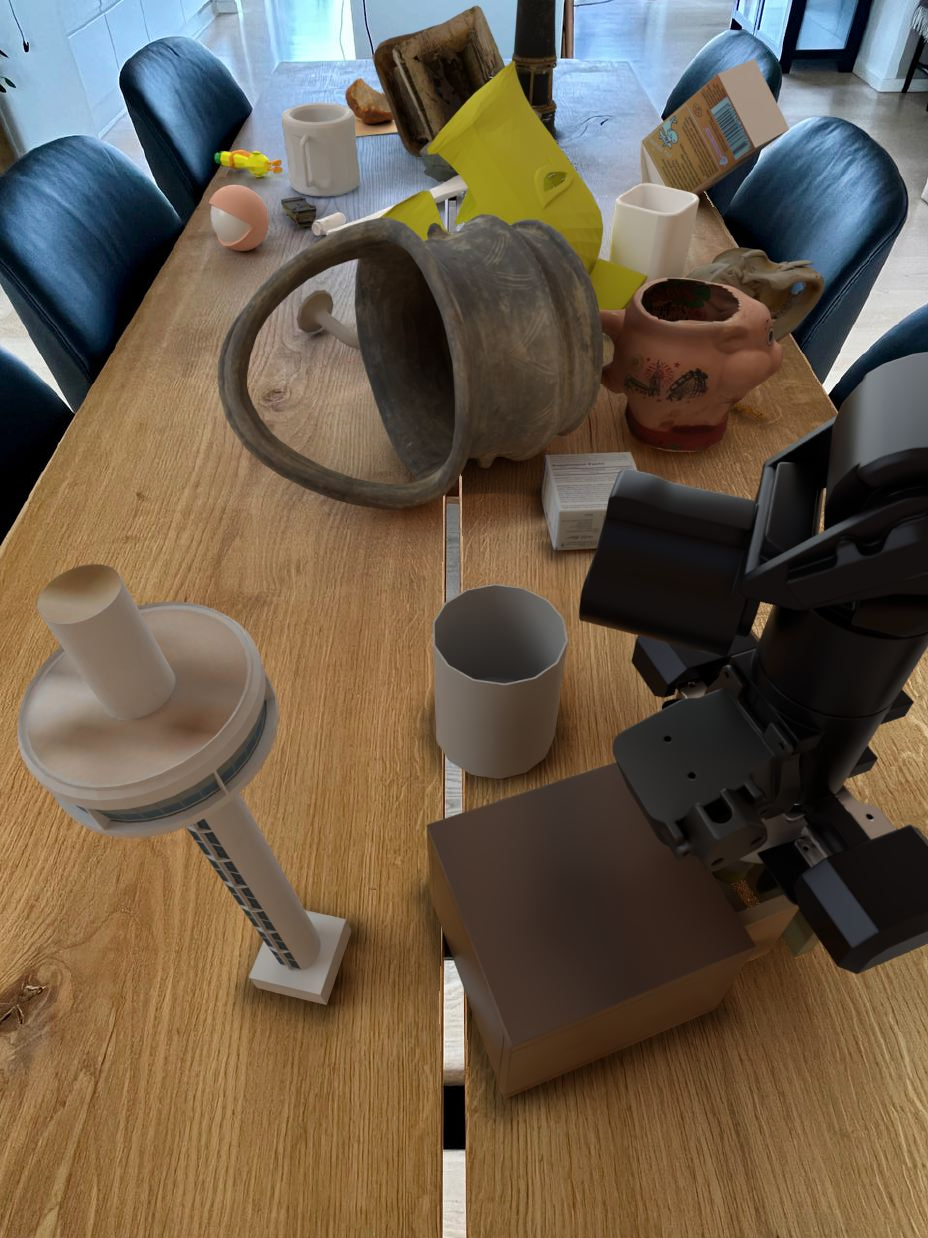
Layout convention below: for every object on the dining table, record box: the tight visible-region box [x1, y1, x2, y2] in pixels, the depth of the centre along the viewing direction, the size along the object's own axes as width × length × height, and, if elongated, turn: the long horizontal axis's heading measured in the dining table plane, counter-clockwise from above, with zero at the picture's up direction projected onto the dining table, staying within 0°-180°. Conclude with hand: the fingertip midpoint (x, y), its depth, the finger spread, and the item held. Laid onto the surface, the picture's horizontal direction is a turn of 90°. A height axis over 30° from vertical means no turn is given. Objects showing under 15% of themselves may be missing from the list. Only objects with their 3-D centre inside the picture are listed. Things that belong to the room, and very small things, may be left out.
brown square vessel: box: [371, 5, 506, 158], centre depth 138 cm, size 22×24×20 cm
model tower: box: [17, 563, 352, 1006], centre depth 36 cm, size 8×8×30 cm
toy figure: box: [214, 149, 283, 179], centre depth 132 cm, size 7×4×12 cm
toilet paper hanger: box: [296, 289, 360, 350], centre depth 99 cm, size 25×8×5 cm, turn 136°
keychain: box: [732, 403, 766, 420], centre depth 86 cm, size 8×1×1 cm, turn 43°
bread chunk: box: [344, 77, 398, 137], centre depth 149 cm, size 15×11×11 cm
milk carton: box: [639, 58, 790, 196], centre depth 122 cm, size 11×11×19 cm
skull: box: [685, 247, 825, 343], centre depth 91 cm, size 12×18×12 cm
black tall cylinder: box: [511, 0, 558, 139], centre depth 136 cm, size 9×9×30 cm
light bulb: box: [711, 815, 808, 885], centre depth 44 cm, size 5×6×10 cm
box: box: [540, 451, 639, 551], centre depth 72 cm, size 8×4×9 cm
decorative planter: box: [599, 277, 784, 453], centre depth 79 cm, size 20×12×14 cm, turn 87°
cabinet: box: [425, 761, 756, 1100], centre depth 45 cm, size 13×12×9 cm
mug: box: [280, 102, 361, 197], centre depth 125 cm, size 14×11×10 cm
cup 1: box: [432, 583, 569, 780], centre depth 55 cm, size 8×8×10 cm
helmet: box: [380, 60, 648, 310], centre depth 90 cm, size 16×23×30 cm
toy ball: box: [208, 184, 270, 252], centre depth 111 cm, size 8×8×8 cm
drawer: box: [710, 863, 820, 963], centre depth 47 cm, size 16×10×7 cm, turn 111°
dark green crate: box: [280, 196, 318, 228], centre depth 119 cm, size 4×8×2 cm, turn 25°
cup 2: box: [608, 183, 700, 285], centre depth 92 cm, size 7×7×15 cm
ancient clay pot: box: [216, 214, 604, 511], centre depth 72 cm, size 22×23×30 cm
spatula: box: [325, 175, 468, 236], centre depth 121 cm, size 28×4×2 cm, turn 137°
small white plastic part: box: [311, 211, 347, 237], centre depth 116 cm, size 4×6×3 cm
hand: (737, 847), depth 46 cm, fingers closed on light bulb, 5 cm apart
